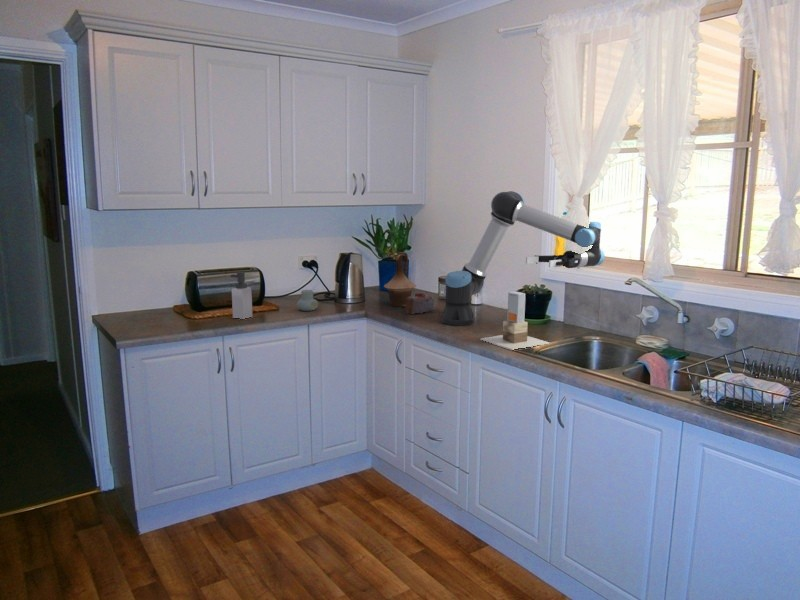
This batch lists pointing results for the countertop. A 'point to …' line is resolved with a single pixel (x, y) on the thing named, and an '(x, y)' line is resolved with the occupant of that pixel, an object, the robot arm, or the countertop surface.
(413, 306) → the food item
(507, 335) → the lower block
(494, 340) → the plate
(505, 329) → the upper block
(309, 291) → the air freshener
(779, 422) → the countertop surface
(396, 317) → the countertop surface
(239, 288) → the soap dispenser
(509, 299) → the skincare box
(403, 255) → the brown vase
